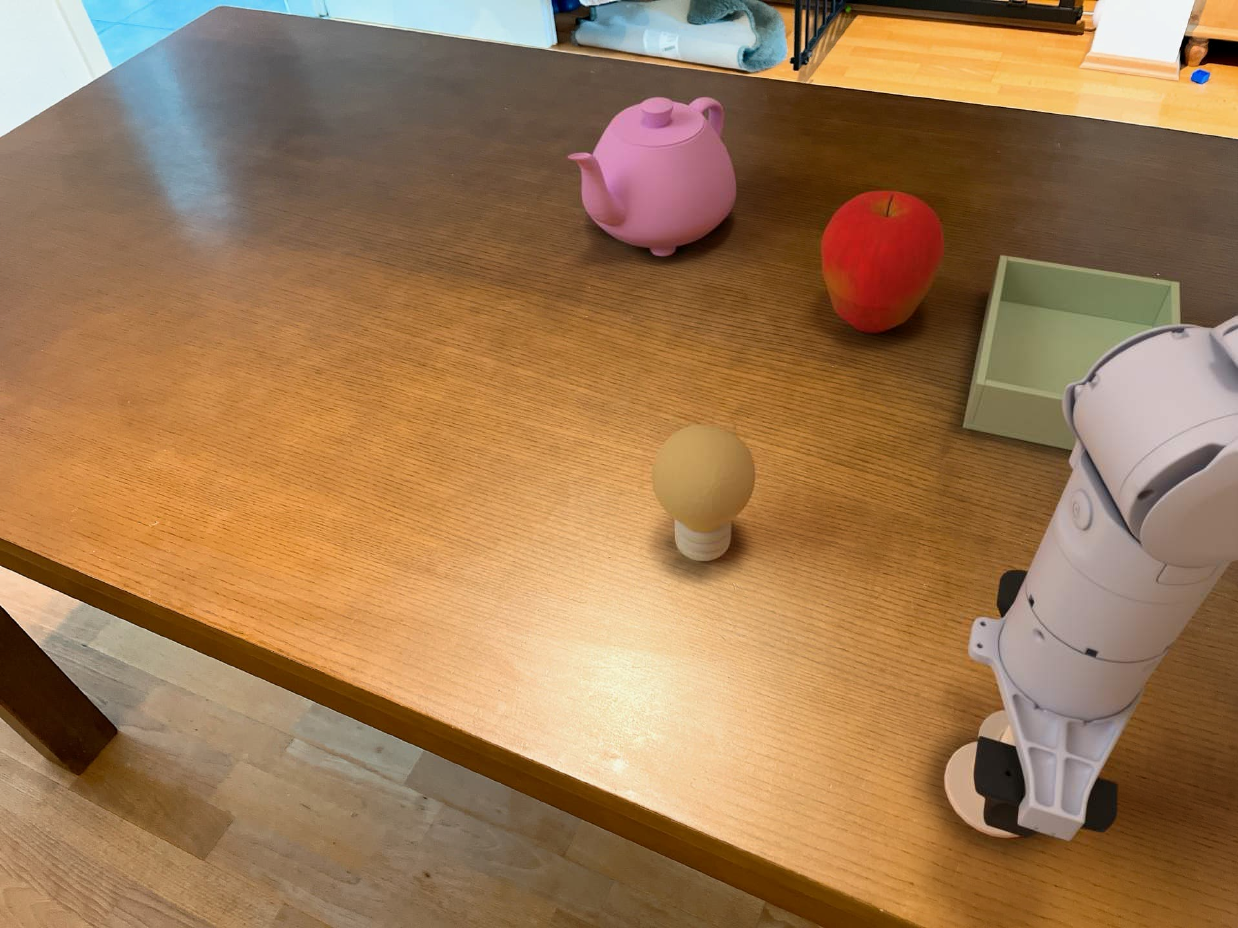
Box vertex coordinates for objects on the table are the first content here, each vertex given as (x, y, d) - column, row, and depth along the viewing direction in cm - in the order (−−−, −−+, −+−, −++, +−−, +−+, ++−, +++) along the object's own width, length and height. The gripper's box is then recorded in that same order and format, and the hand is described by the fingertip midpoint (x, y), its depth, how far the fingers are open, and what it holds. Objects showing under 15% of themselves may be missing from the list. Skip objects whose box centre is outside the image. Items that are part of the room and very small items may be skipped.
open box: (1158, 328, 74) (1179, 282, 71) (1158, 468, 64) (1183, 423, 61) (987, 299, 78) (1000, 254, 75) (962, 428, 68) (976, 383, 65)
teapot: (636, 307, 80) (629, 181, 71) (528, 248, 88) (509, 127, 79) (778, 208, 89) (787, 86, 81) (669, 162, 97) (667, 46, 88)
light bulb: (683, 495, 65) (681, 392, 58) (765, 528, 63) (775, 425, 56) (638, 559, 62) (630, 458, 54) (724, 597, 59) (727, 496, 52)
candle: (947, 734, 52) (990, 634, 44) (1046, 758, 51) (1107, 660, 43) (939, 822, 49) (984, 731, 41) (1044, 851, 47) (1110, 762, 40)
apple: (931, 295, 79) (960, 168, 70) (921, 363, 73) (951, 233, 64) (822, 281, 81) (837, 155, 72) (804, 345, 76) (818, 217, 67)
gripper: (1013, 451, 42) (952, 616, 52) (973, 728, 33) (909, 863, 43) (1183, 487, 40) (1086, 651, 50) (1190, 793, 31) (1070, 919, 41)
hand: (1014, 753), depth 47 cm, fingers open, 7 cm apart
